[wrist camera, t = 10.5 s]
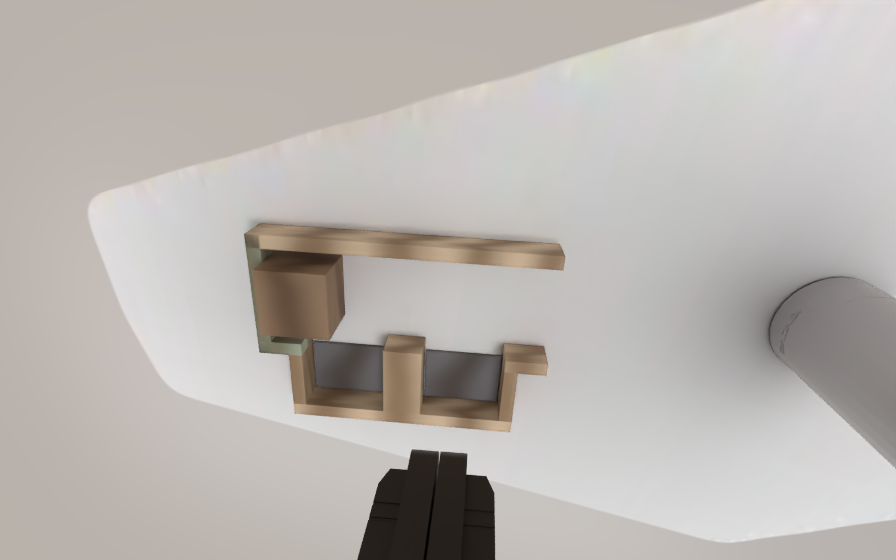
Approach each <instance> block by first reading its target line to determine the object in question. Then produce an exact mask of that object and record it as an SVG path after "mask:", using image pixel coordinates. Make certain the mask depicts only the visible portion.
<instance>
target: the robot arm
mask: <svg viewBox="0 0 896 560" xmlns="http://www.w3.org/2000/svg"><path fill="white" fill-rule="evenodd" d="M770 343H771V346H772V349H773V350H774V352H775V354H776V355H777V356H778V357H779V358H780V359H781V360H782V361H783V362H784V363H785V364H786V365H787V366H788V367H789V368H790V369H791V370H792V371H794V372H795V373H796V374H797V375H798V376H799V377H800V378H801V379H802V380H803V381H804V382H805V383H806V384H807V385H808V386H809V387H810V388H811V389H812V390H813V391H814V392H815V393H816V394H817V395H818V396H820V397H821V398H822V399H823V400H824V401H825V402H826V403H827V404H828V405H829V406H830V407H831V408H832V409H833V410H834V411H835V412H836V413H838V414H839V415H840V416H841V417H842V418H843V419H844V420H845V421H846V422H847V423H848V424H849V425H850V426H851V427H852V428H853V429H854V430H856V431H857V432H858V433H859V434H860V435H861V436H862V437H863V438H864V439H865V440H866V441H867V442H868V443H869V444H870V445H871V446H872V447H873V448H875V449H876V450H877V451H878V452H879V453H880V454H881V455H882V456H883V457H884V458H885V459H886V460H887V461H888V462H889V463H890V464H891V465H893V466H894V467H895V468H896V299H895V298H894V297H892V296H890V295H888V294H886V293H884V292H882V291H880V290H879V289H877V288H875V287H873V286H871V285H869V284H867V283H865V282H864V281H860V280H857V279H854V278H844V277H838V278H828V279H824V280H821V281H817V282H814V283H812V284H810V285H808V286H805V287H803V288H802V289H800V290H799V291H797V292H796V293H794V294H793V295H792V296H791V297H789V298H788V299H787V300H786V301H785V302H784V303H783V304H782V306H781V307H780V308H779V310H778V311H777V312H776V314H775V316H774V318H773V320H772V323H771V327H770ZM466 470H467V454H465V453H453V452H441V454H440V461H439V452H438V451H426V450H413V449H412V451H411V455H410V460H409V465H408V469H407V470H401V469H390V470H389V471H388V472H387V473H386V475H385V476H384V477H383V478H382V480H381V481H380V482H379V484H378V487H377V490H376V494H375V498H374V502H373V505H372V509H371V512H370V517H369V520H368V523H367V527H366V531H365V534H364V538H363V541H362V545H361V548H360V552H359V556H358V560H495V516H494V511H495V510H494V491H493V490H492V487H491V485H490V483H489V481H488V479H487V477H486V476H477V475H466Z"/></svg>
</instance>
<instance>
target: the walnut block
mask: <svg viewBox="0 0 896 560" xmlns="http://www.w3.org/2000/svg"><path fill="white" fill-rule="evenodd" d="M252 273H253V281H254V289H255V297H256V305H257V312H258V320H259V328H260V335H266V336H279V337H291V338H304V339H317V340H330V339H331V337H332V335H333V334H334V332H335V330H336V329H337V327H338V325H339V323H340V322H341V320H342V318H343V317H344V315H345V302H344V280H343V258H342V255H341V254H327V253H312V252H298V251H283V250H276V251H275V252H274V253H272V254H271V255H270V256H269V257H268V258H266V259H265V260H264V261H263V262H261V263H260V264H259V265H258V266H257V267H255V268H254V269H253V270H252Z"/></svg>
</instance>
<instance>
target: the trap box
mask: <svg viewBox="0 0 896 560" xmlns="http://www.w3.org/2000/svg"><path fill="white" fill-rule="evenodd" d="M244 236H245V244H246V251H247V259H248V267H249V274H250V282H251V290H252V298H253V305H254V313H255V321H256V328H257V336H258V344H259V352H260V353H273V354H285V355H289V360H290V370H291V380H292V390H293V400H294V410H295V414H306V415H318V416H329V417H341V418H352V419H364V420H375V421H387V422H399V423H410V424H422V425H433V426H445V427H456V428H468V429H479V430H491V431H502V432H510V429H511V421H512V414H513V406H514V398H515V391H516V383H517V375H518V374H531V375H543V376H546V375H547V369H548V362H547V357H546V353H545V348H544V347H542V346H530V345H517V344H504V350H503V359H502V368H501V377H500V386H499V394H498V401H497V392H498V383H499V375H500V366H501V355H489V354H476V353H464V352H451V351H438V350H426V372H425V395H423V394H424V365H425V337H415V336H403V335H390V334H389V336H388V339H387V342H386V344H385V346H376V345H363V344H351V343H338V342H326V341H314V342H313V339H304V338H291V337H279V336H266V335H260V328H259V320H258V312H257V305H256V297H255V289H254V281H253V273H252V270H253V269H254V268H255V267H257V266H258V265H259V264H260V263H261V262H263V261H264V260H265V259H266V258H268V257H269V256H270V255H271V254H272V253H274V252H275V251H276V250H285V251H299V252H313V253H327V254H341V255H355V256H369V257H383V258H397V259H411V260H425V261H439V262H453V263H467V264H481V265H495V266H509V267H523V268H537V269H551V270H563V268H564V262H565V255H564V252H563V250H562V248H561V246H560V244H549V243H534V242H520V241H505V240H491V239H476V238H462V237H447V236H433V235H418V234H404V233H389V232H375V231H361V230H346V229H332V228H317V227H303V226H288V225H274V224H259V225H257V226H256V227H254V228H253V229H251V230H250V231H248V232H246V233H245V234H244ZM313 344H314V348H313ZM314 357H315V362H314ZM315 370H316V375H315ZM316 384H317V386H316Z"/></svg>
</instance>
